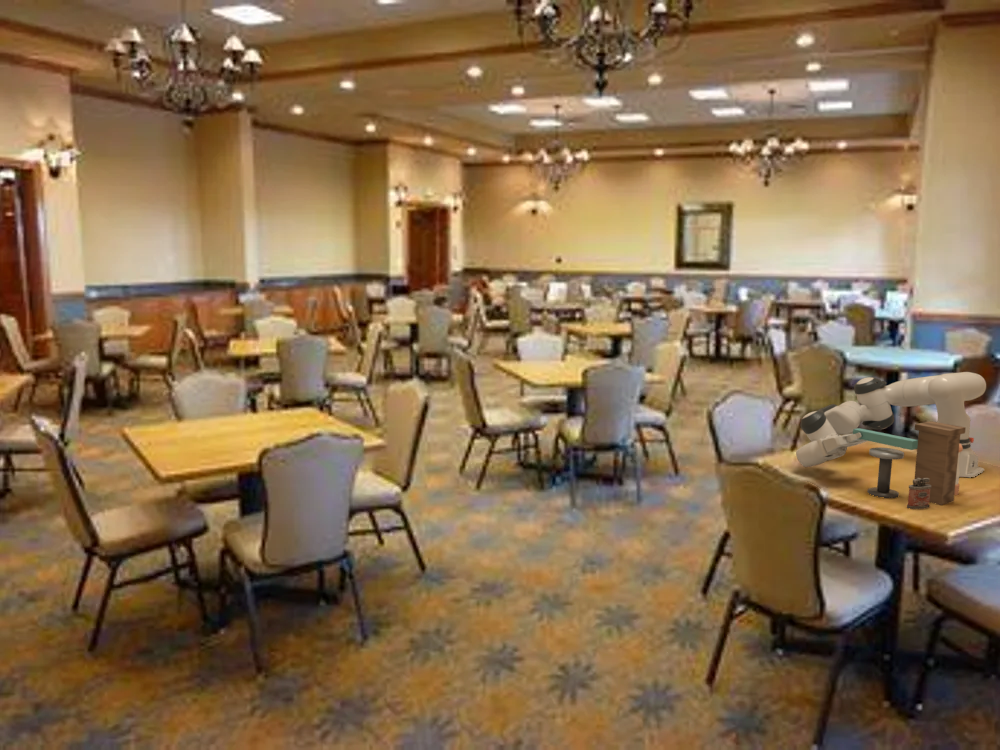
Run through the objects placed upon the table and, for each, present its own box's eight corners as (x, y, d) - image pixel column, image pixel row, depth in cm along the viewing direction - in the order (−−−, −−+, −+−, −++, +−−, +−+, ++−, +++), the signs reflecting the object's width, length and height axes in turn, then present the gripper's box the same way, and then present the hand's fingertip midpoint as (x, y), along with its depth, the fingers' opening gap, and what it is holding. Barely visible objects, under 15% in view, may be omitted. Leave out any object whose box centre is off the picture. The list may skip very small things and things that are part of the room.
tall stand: (923, 493, 298) (930, 421, 294) (958, 501, 288) (965, 427, 284) (908, 497, 292) (915, 424, 288) (942, 506, 283) (950, 430, 279)
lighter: (911, 509, 279) (914, 480, 277) (904, 506, 282) (907, 477, 280) (931, 508, 281) (934, 478, 279) (924, 504, 284) (927, 476, 282)
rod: (858, 436, 304) (858, 428, 303) (917, 448, 286) (918, 440, 285) (852, 437, 302) (853, 429, 301) (911, 450, 284) (912, 441, 283)
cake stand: (877, 488, 303) (880, 446, 301) (906, 495, 294) (910, 452, 292) (859, 492, 297) (862, 449, 295) (888, 500, 288) (892, 456, 286)
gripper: (854, 450, 315) (885, 438, 304) (820, 457, 304) (852, 445, 293) (847, 434, 317) (878, 422, 306) (814, 440, 305) (845, 428, 295)
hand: (865, 433), depth 299 cm, fingers closed on rod, 3 cm apart
